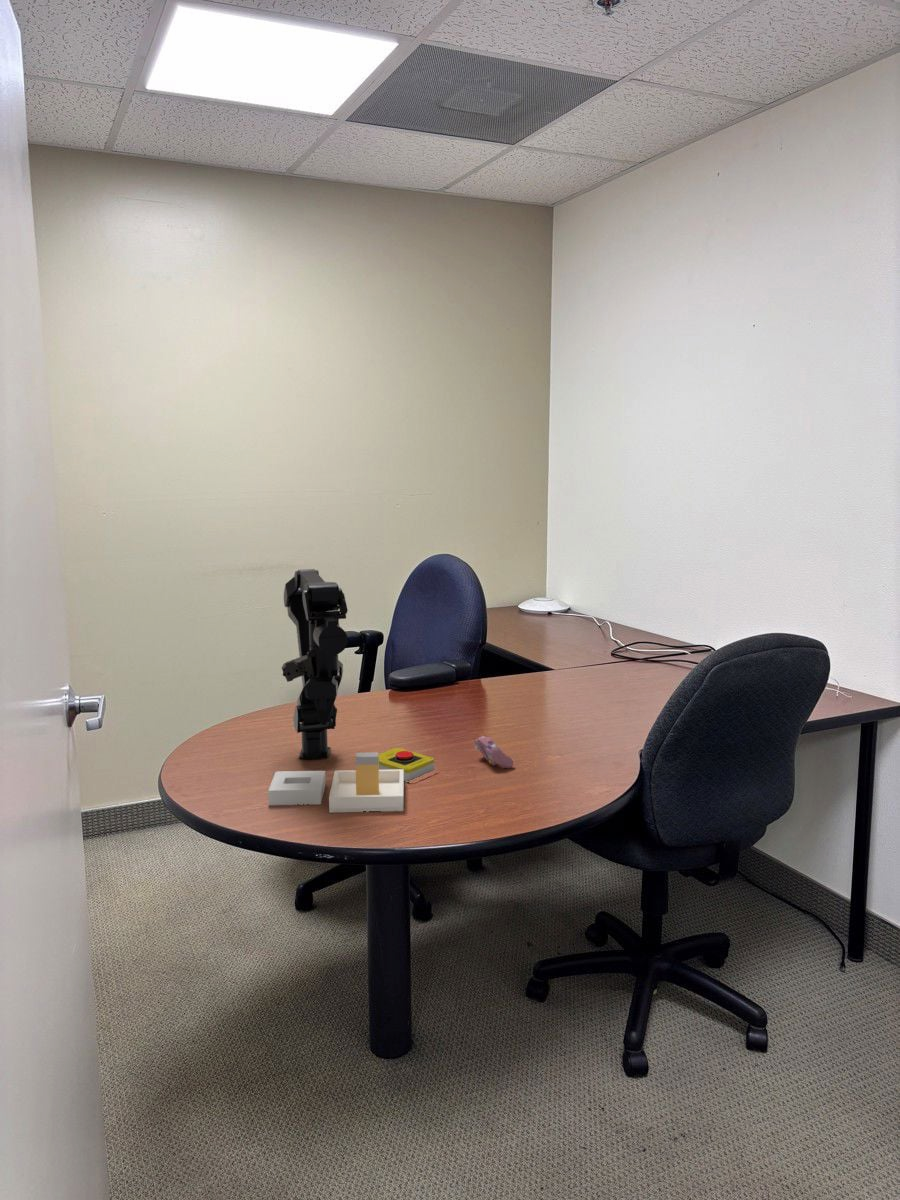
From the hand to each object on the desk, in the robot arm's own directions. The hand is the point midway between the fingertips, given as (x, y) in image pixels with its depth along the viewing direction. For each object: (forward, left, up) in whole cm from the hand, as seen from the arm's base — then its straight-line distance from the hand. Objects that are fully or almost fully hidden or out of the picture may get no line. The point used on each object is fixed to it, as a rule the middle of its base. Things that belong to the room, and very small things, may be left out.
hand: (325, 717), depth 182 cm
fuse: (+11, +9, -12) cm, 19 cm away
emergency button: (-4, +15, -14) cm, 21 cm away
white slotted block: (+9, -5, -13) cm, 17 cm away
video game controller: (-7, +35, -13) cm, 39 cm away
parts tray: (+11, +9, -13) cm, 19 cm away
